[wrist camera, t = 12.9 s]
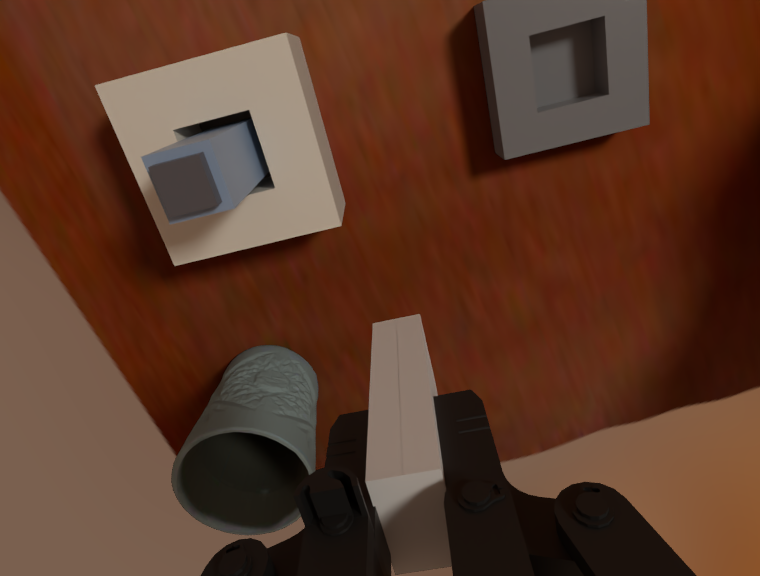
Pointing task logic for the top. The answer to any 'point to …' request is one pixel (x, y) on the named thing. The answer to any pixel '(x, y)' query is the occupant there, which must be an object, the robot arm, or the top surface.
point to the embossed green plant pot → (251, 444)
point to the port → (226, 105)
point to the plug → (207, 171)
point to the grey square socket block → (562, 70)
